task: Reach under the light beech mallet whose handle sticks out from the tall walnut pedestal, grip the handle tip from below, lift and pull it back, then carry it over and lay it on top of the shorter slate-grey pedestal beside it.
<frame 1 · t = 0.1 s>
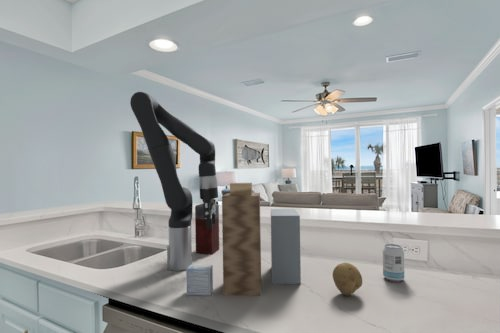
hand: (211, 225, 118), 17 cm above the worktop, tool pointing down, fingers open, 8 cm apart
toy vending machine: (208, 251, 142), on the worktop
medicine box: (200, 293, 94), on the worktop
beverage can: (393, 279, 103), on the worktop
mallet: (241, 195, 95), point 32 cm above the worktop, touching tall pedestal
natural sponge: (347, 295, 91), on the worktop
tall pedestal: (243, 287, 97), on the worktop
short pedestal: (285, 274, 108), on the worktop
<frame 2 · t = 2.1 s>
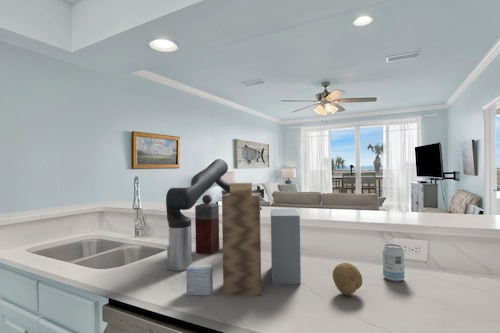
hand: (248, 187, 132), 32 cm above the worktop, tool pointing upward, fingers open, 8 cm apart
nothing on the worktop moved.
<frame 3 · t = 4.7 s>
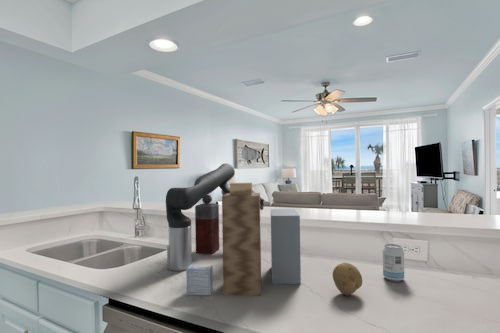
hand: (246, 197, 118), 29 cm above the worktop, tool pointing upward, fingers open, 8 cm apart
nothing on the worktop moved.
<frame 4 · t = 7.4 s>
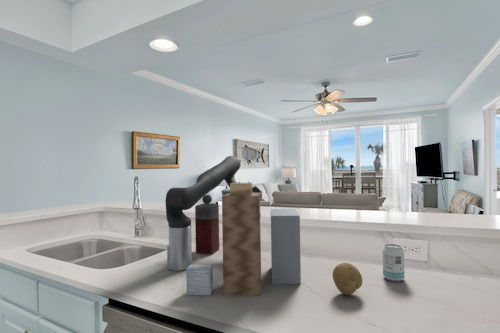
hand: (244, 184, 107), 35 cm above the worktop, tool pointing upward, fingers closed on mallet, 3 cm apart
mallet: (241, 195, 95), point 32 cm above the worktop, touching gripper, tall pedestal
everything else where it was.
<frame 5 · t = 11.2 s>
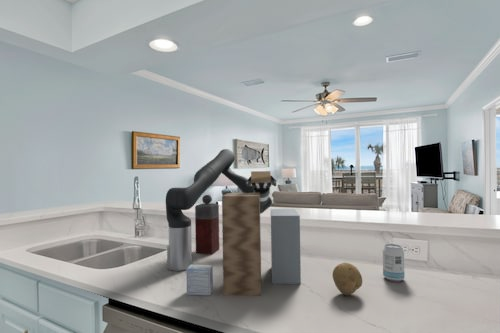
hand: (261, 173, 117), 39 cm above the worktop, tool pointing upward, fingers closed on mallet, 3 cm apart
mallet: (260, 182, 105), point 36 cm above the worktop, touching gripper
everything else where it was.
when the fingers open (28 cm above the worktop, at t = 14.8 s): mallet drops 1 cm, resting on short pedestal.
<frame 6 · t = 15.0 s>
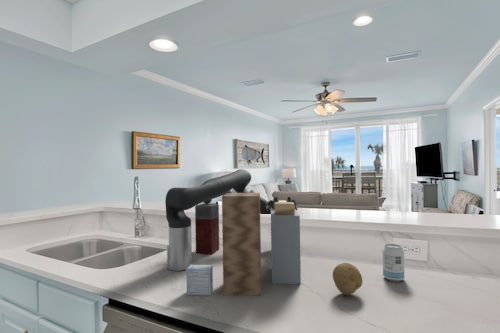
hand: (282, 198, 116), 28 cm above the worktop, tool pointing upward, fingers open, 4 cm apart
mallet: (284, 213, 104), point 24 cm above the worktop, touching short pedestal
everything else where it was.
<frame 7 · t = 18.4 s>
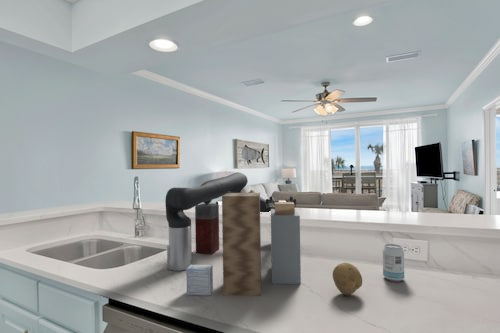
hand: (281, 197, 129), 27 cm above the worktop, tool pointing upward, fingers open, 8 cm apart
nothing on the worktop moved.
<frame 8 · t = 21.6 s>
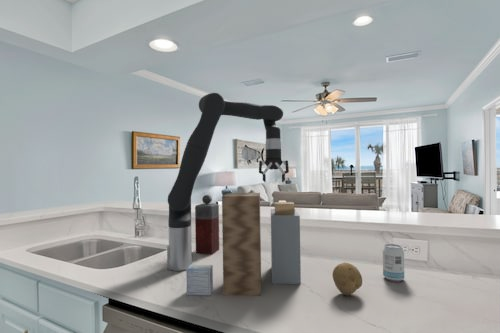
hand: (273, 182, 136), 34 cm above the worktop, tool pointing down, fingers open, 8 cm apart
nothing on the worktop moved.
at the end: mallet inside the target area (0.9 cm from its centre), point 24.0 cm above the worktop; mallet tilted 0°; the gripper is holding nothing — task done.
